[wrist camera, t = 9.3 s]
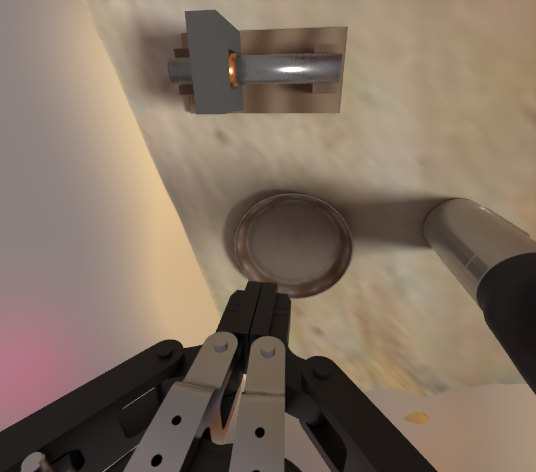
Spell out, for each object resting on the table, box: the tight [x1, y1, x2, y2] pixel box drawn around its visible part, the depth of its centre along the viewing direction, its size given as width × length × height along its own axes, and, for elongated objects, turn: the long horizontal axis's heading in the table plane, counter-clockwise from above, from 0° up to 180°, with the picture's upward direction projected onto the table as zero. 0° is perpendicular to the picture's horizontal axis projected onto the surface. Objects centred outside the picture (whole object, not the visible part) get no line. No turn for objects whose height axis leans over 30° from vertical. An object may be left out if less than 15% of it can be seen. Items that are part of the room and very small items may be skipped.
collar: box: [185, 10, 243, 114], centre depth 33 cm, size 3×9×10 cm, turn 0°
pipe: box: [168, 53, 342, 87], centre depth 34 cm, size 20×3×3 cm, turn 90°
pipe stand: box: [174, 27, 348, 113], centre depth 38 cm, size 22×10×7 cm, turn 90°
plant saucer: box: [234, 193, 353, 299], centre depth 51 cm, size 21×21×3 cm
